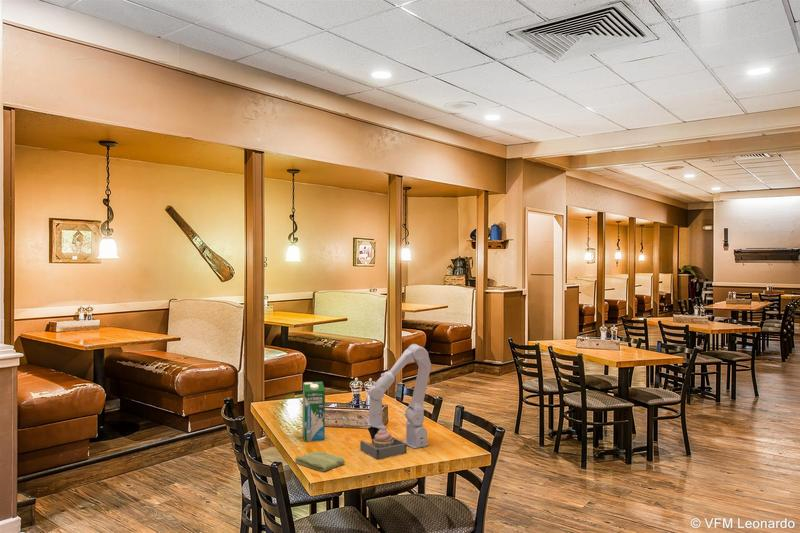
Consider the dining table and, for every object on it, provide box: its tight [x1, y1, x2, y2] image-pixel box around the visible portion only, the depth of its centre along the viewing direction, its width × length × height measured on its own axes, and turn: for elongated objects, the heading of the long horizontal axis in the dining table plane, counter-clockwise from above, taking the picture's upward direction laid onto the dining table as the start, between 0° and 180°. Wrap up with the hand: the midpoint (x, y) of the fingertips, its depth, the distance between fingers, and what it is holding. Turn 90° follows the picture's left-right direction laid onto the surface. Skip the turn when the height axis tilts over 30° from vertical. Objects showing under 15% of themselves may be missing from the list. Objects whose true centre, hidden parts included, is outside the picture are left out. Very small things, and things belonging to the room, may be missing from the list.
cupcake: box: [372, 429, 394, 449], centre depth 244 cm, size 9×9×10 cm
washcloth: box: [294, 450, 346, 473], centre depth 229 cm, size 13×18×3 cm
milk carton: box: [302, 381, 326, 442], centre depth 261 cm, size 9×9×25 cm
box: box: [359, 436, 408, 460], centre depth 244 cm, size 14×15×4 cm
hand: (375, 444), depth 249 cm, fingers closed
